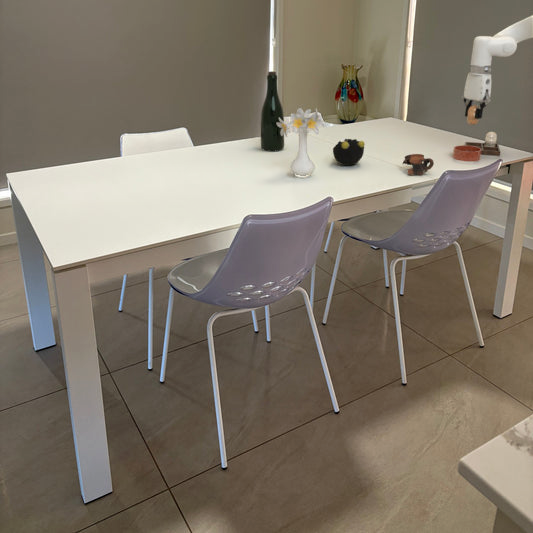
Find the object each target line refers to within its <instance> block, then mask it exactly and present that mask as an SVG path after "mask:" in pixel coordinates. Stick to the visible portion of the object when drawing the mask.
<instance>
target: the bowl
mask: <svg viewBox="0 0 533 533" xmlns="http://www.w3.org/2000/svg"><path fill="white" fill-rule="evenodd" d="M452 150H453V151H452V159H453V160H456V161H460V162H461V161H462V162H478V161H480V160H481V159H482V155H481V152H482V149H481V148H479V147H475V146H467V145H465V144H464V145H456V146H454V147H453V148H452Z"/></svg>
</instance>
